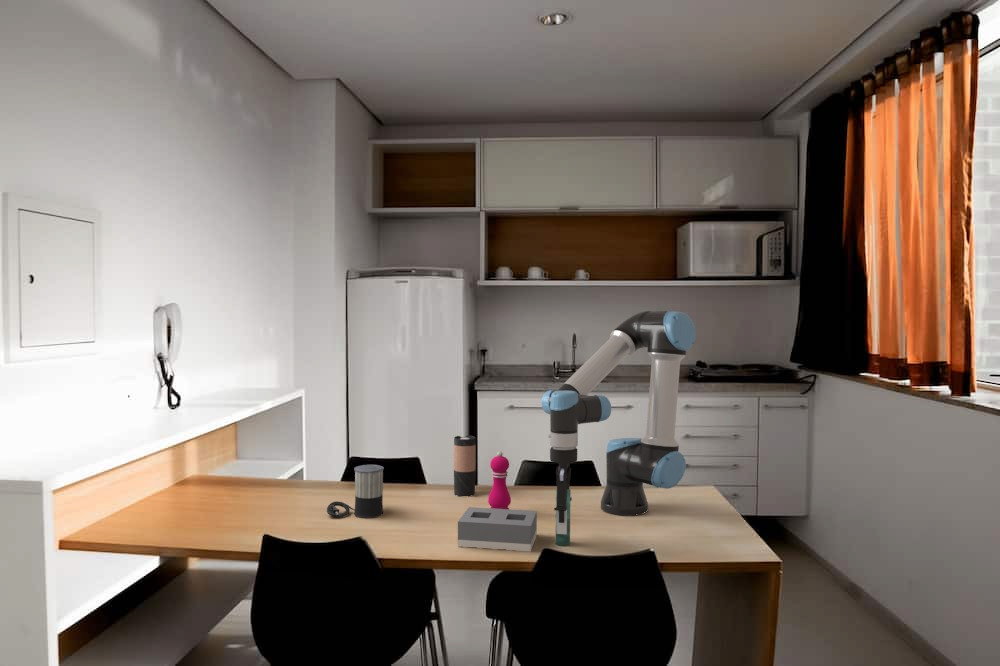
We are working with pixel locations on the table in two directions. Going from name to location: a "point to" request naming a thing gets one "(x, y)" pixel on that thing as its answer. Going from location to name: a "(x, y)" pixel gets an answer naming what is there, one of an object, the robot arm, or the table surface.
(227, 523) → the table surface
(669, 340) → the robot arm
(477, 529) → the hole block
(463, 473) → the travel mug
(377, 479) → the milk frother
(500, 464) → the pepper mill
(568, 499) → the pin
